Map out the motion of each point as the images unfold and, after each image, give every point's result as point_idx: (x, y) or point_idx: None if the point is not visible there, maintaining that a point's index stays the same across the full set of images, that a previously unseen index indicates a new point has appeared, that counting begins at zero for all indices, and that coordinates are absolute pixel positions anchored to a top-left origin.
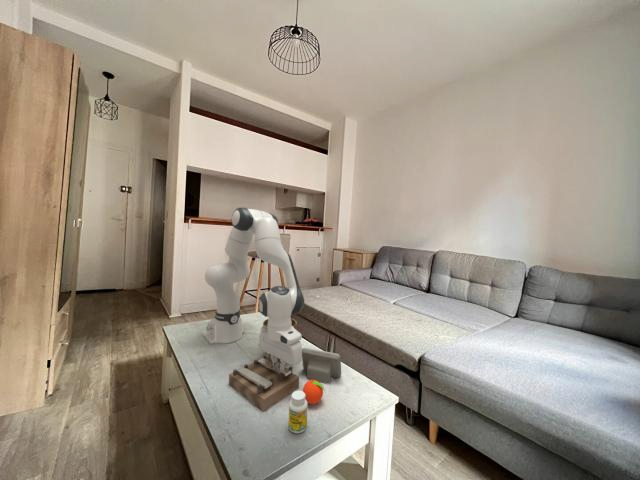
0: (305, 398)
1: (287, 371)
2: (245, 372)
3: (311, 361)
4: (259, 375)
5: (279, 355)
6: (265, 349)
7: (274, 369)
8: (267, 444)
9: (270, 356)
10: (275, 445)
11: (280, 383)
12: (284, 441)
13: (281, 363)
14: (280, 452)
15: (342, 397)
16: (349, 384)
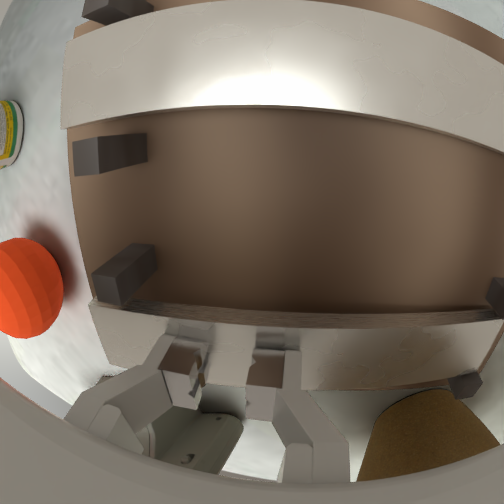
0: (17, 239)
1: (114, 344)
2: (487, 86)
3: (143, 452)
4: (370, 179)
5: (46, 471)
6: (470, 499)
7: (248, 322)
8: (33, 17)
9: (448, 401)
10: (18, 38)
11: (110, 224)
12: (9, 67)
13: (109, 388)
14: (5, 45)
15: None
16: (77, 389)
